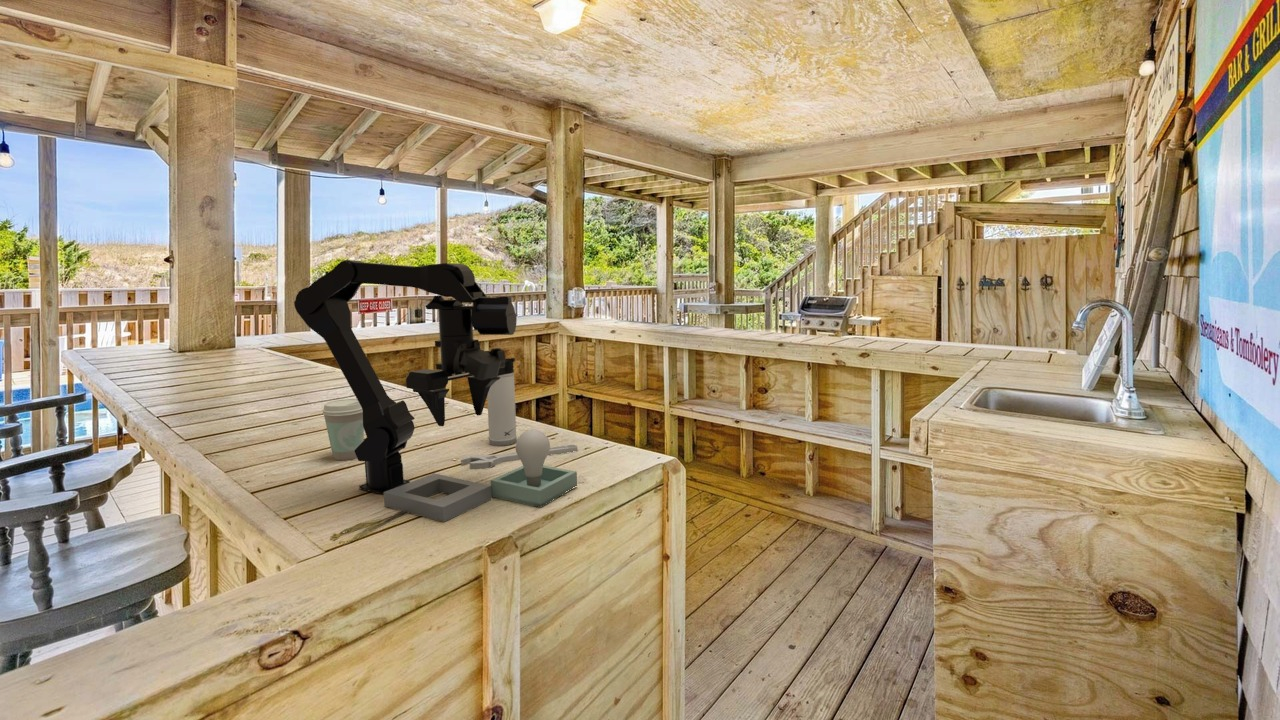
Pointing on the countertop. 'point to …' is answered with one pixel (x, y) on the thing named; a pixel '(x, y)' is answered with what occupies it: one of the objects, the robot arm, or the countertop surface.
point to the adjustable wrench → (506, 457)
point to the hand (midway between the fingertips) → (460, 420)
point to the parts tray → (518, 491)
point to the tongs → (369, 524)
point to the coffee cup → (344, 427)
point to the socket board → (443, 509)
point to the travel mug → (502, 408)
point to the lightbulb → (532, 454)
